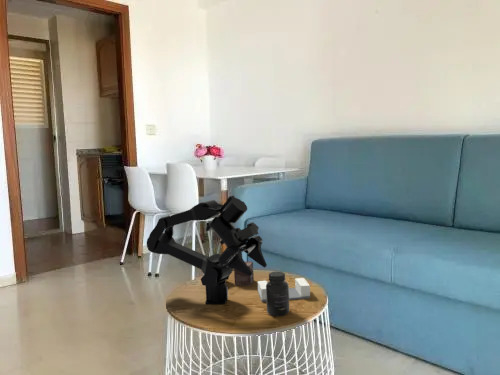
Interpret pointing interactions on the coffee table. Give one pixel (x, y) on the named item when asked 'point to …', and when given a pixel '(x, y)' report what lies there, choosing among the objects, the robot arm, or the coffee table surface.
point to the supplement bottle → (277, 294)
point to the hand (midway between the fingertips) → (258, 270)
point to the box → (244, 276)
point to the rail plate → (294, 293)
